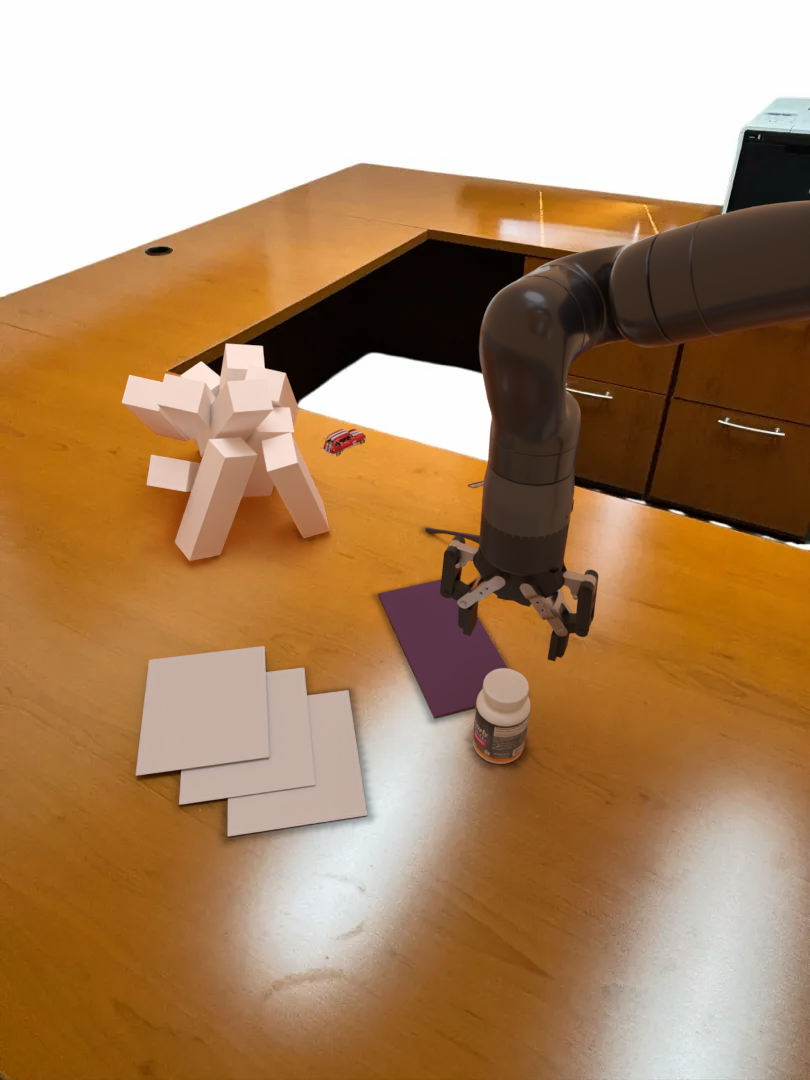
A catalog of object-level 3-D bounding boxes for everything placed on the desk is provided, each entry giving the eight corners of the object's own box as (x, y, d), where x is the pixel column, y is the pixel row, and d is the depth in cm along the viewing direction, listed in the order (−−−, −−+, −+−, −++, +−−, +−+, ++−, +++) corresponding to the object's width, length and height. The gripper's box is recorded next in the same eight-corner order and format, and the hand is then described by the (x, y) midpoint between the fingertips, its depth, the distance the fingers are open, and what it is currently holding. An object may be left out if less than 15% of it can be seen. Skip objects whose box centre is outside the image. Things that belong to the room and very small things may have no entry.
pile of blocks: (111, 513, 128) (6, 392, 96) (234, 392, 137) (176, 244, 105) (267, 638, 119) (209, 549, 87) (388, 499, 128) (376, 373, 96)
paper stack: (340, 640, 98) (340, 636, 97) (367, 815, 78) (367, 811, 78) (150, 663, 95) (149, 659, 94) (128, 852, 75) (126, 848, 75)
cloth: (522, 695, 91) (522, 693, 91) (434, 718, 88) (434, 716, 88) (453, 578, 107) (454, 576, 107) (377, 595, 105) (377, 593, 104)
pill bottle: (465, 729, 87) (470, 668, 81) (514, 720, 88) (522, 659, 82) (481, 771, 83) (487, 710, 77) (532, 761, 84) (542, 700, 78)
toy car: (368, 443, 136) (367, 427, 134) (332, 459, 131) (331, 443, 130) (355, 435, 138) (354, 419, 136) (319, 451, 134) (318, 435, 132)
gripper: (431, 511, 65) (429, 647, 75) (600, 553, 61) (573, 691, 71) (462, 467, 71) (456, 599, 81) (619, 502, 66) (592, 637, 76)
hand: (511, 642), depth 76 cm, fingers open, 8 cm apart
